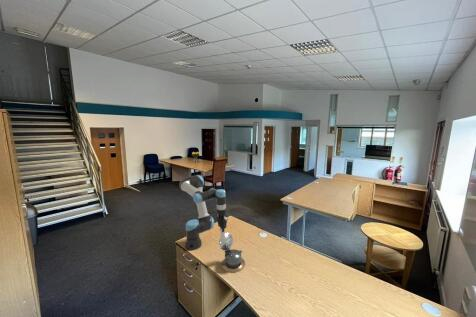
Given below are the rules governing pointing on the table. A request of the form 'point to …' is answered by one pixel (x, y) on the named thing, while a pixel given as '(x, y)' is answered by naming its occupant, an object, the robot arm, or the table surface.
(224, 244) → the lid
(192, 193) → the robot arm
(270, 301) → the table surface
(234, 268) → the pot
